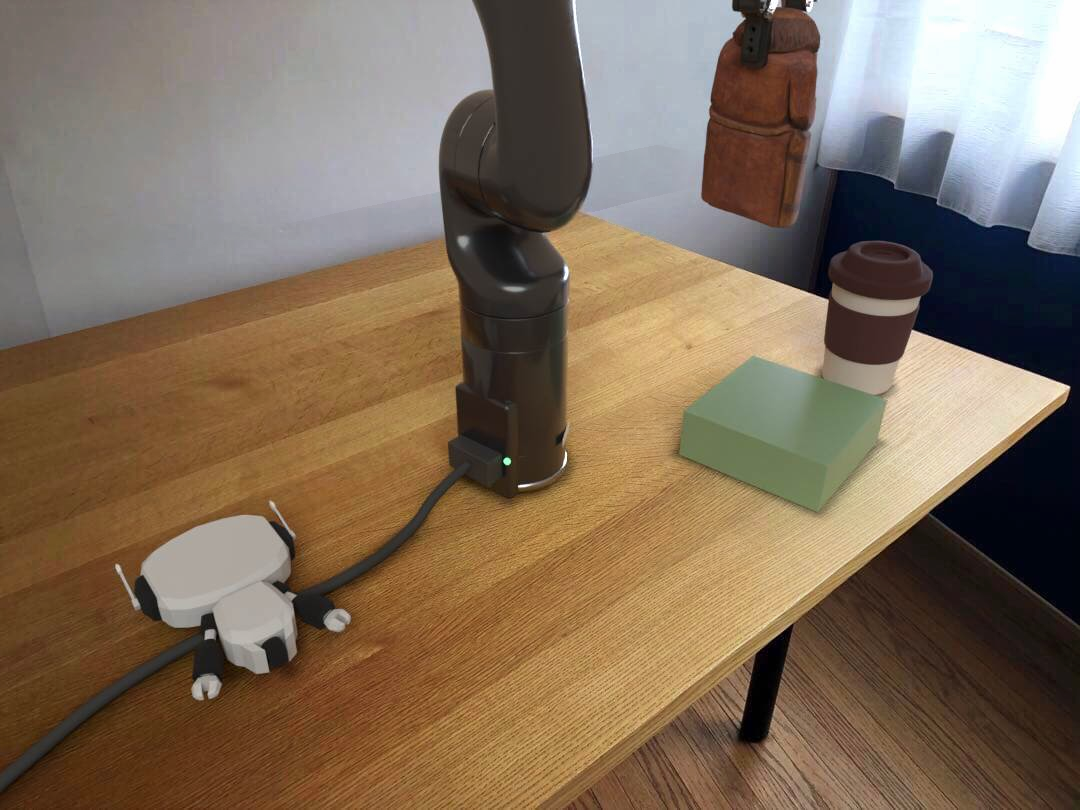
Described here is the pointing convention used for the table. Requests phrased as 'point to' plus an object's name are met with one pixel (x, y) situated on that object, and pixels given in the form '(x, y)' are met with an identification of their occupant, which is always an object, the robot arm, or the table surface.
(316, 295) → the table surface
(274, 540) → the robot toy
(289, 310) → the table surface
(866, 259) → the coffee cup
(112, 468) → the table surface
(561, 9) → the robot arm
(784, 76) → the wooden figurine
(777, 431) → the green block
